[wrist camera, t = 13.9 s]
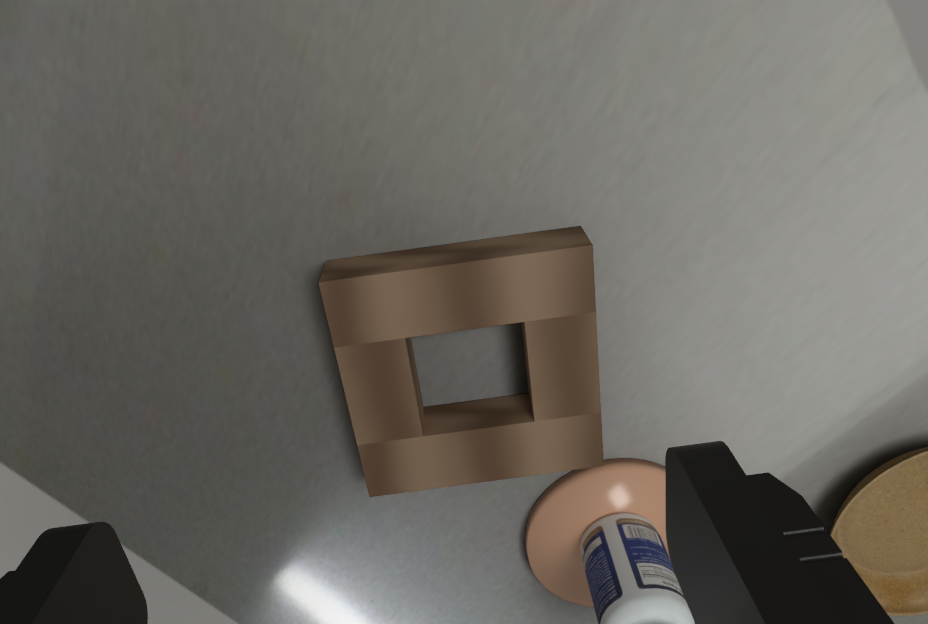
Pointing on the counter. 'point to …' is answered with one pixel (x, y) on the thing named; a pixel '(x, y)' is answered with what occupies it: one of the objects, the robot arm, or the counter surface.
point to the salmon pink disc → (589, 518)
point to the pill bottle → (631, 573)
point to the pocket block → (461, 308)
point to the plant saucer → (890, 533)
